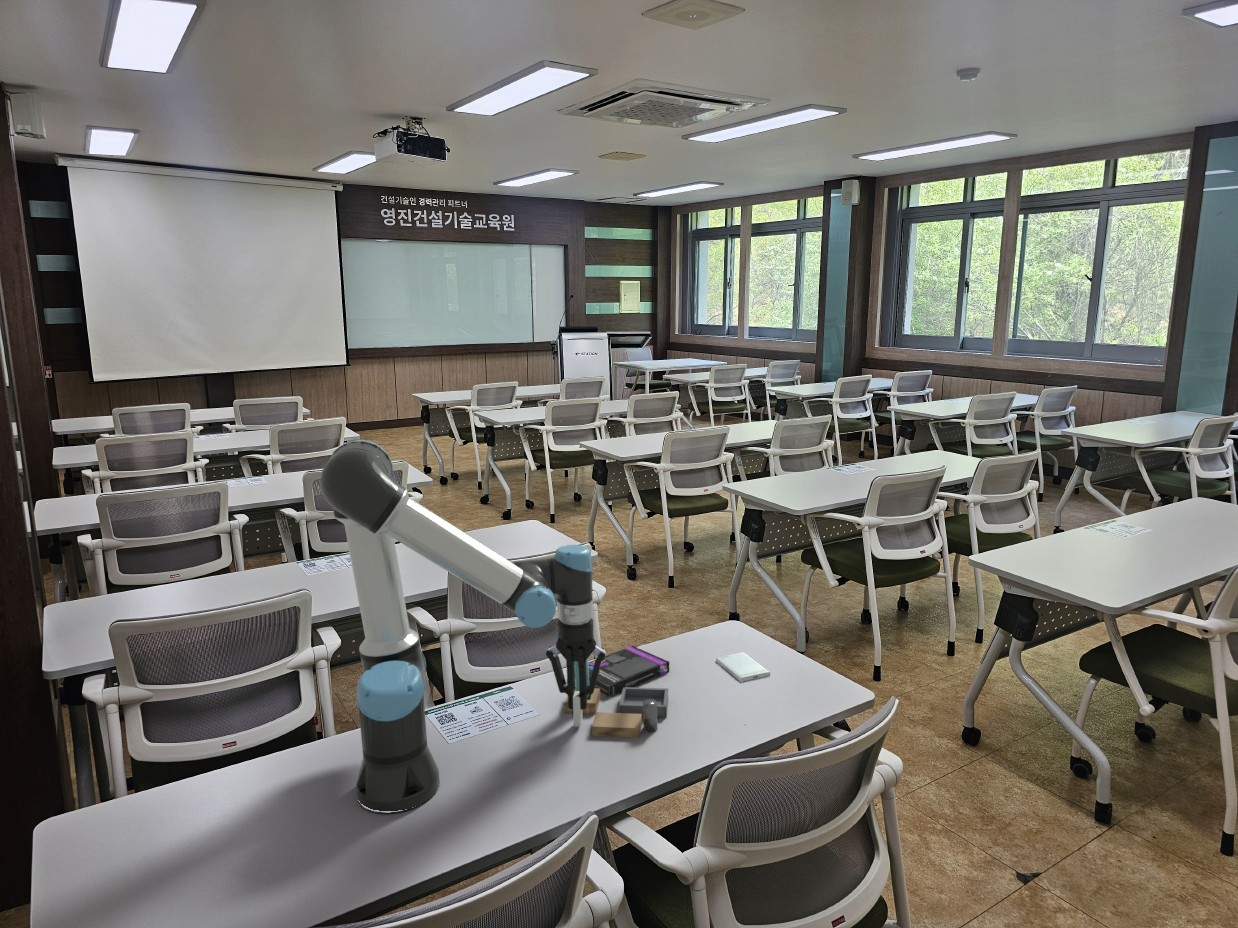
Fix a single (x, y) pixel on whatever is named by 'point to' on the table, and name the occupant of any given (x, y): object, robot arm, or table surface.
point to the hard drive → (742, 666)
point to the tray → (636, 696)
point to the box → (627, 670)
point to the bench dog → (650, 715)
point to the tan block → (617, 724)
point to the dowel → (578, 676)
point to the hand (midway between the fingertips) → (578, 721)
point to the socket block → (591, 704)
